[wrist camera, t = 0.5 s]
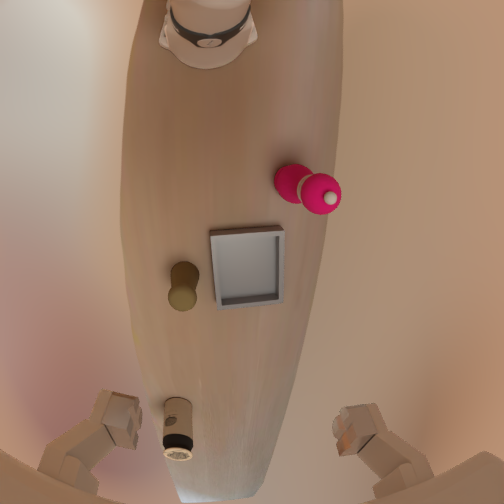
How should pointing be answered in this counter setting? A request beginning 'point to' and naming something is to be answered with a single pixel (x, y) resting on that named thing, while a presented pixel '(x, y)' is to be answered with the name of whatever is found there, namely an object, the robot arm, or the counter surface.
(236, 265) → the tray
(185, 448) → the travel mug
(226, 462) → the counter surface
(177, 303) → the brown pawn
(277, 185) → the pepper mill
